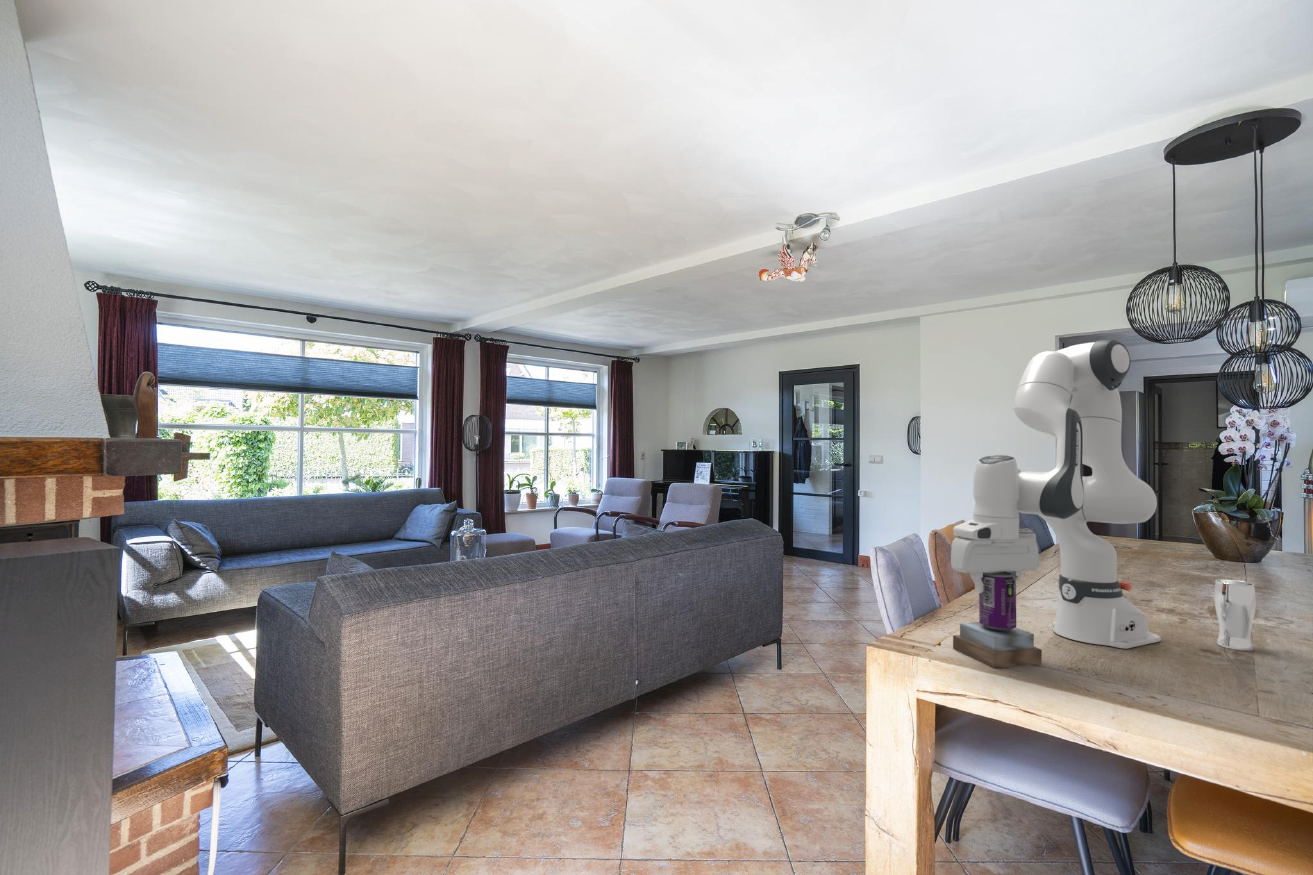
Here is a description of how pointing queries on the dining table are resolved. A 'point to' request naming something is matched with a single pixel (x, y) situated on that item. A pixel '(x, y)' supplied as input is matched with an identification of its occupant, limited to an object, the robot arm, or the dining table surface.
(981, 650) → the stepped plinth
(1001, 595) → the beverage can
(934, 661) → the dining table surface
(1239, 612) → the beer glass
